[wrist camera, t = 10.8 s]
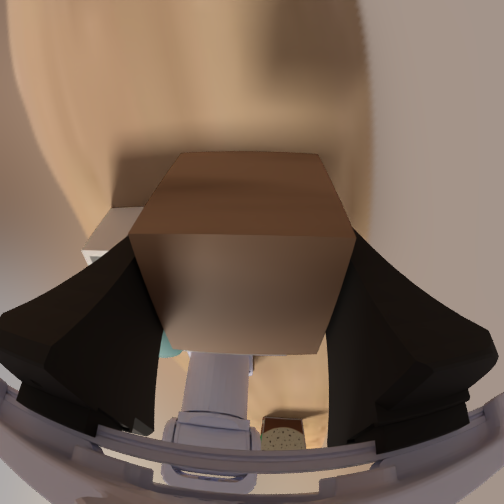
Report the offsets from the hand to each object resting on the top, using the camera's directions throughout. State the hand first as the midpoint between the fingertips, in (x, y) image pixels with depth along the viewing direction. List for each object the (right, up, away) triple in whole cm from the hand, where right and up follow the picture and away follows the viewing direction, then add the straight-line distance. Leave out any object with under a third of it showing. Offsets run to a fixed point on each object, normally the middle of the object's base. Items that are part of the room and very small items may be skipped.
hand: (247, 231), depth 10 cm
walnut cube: (0, +1, +1) cm, 1 cm away
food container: (+6, -40, +45) cm, 61 cm away
